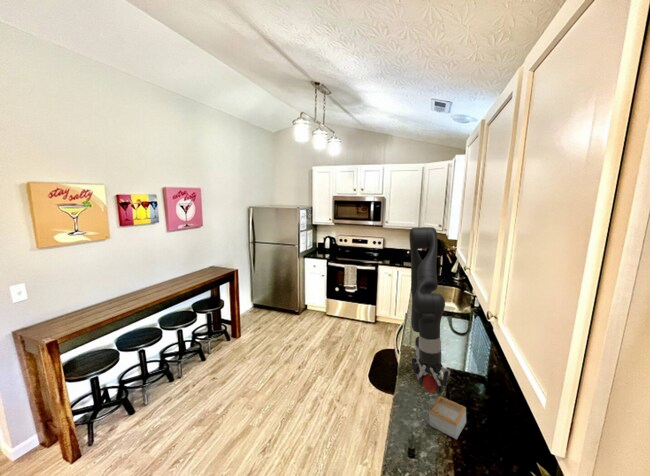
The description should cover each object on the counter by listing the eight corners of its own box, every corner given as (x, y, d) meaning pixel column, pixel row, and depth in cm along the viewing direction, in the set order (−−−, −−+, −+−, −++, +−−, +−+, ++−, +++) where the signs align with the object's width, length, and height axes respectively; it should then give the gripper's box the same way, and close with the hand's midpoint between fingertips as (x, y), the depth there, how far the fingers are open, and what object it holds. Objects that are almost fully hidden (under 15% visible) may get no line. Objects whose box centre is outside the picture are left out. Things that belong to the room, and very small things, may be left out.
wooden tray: (443, 406, 115) (442, 391, 114) (468, 418, 108) (468, 402, 107) (429, 425, 106) (429, 409, 105) (456, 439, 99) (456, 423, 98)
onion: (419, 392, 101) (419, 372, 100) (427, 384, 105) (426, 365, 104) (435, 400, 97) (434, 379, 96) (442, 391, 101) (441, 371, 100)
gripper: (454, 349, 96) (455, 392, 99) (416, 336, 107) (417, 376, 109) (445, 358, 91) (446, 404, 93) (406, 344, 101) (408, 386, 104)
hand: (430, 389), depth 101 cm, fingers closed on onion, 6 cm apart
